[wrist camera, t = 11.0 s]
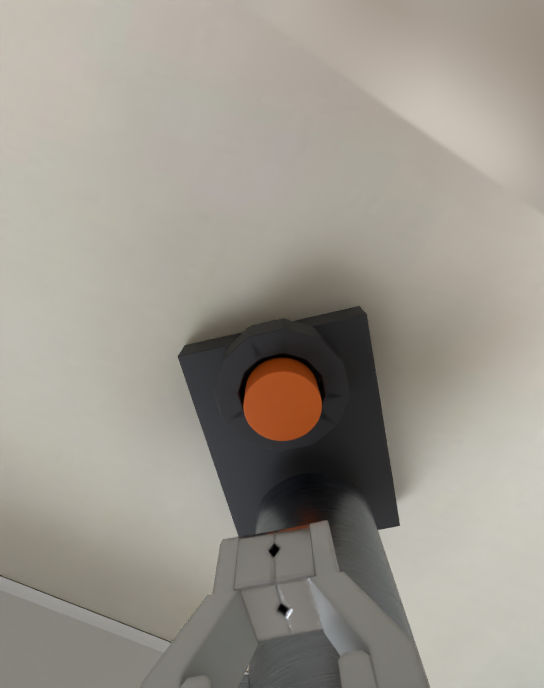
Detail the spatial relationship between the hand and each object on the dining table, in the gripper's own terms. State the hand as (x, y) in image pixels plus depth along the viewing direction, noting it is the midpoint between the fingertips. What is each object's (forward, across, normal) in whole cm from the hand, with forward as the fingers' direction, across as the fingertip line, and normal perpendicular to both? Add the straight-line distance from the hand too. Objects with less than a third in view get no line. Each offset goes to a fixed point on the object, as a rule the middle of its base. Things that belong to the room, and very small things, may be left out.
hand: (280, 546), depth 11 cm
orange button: (+9, 0, 0) cm, 9 cm away
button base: (+12, 0, +4) cm, 13 cm away
